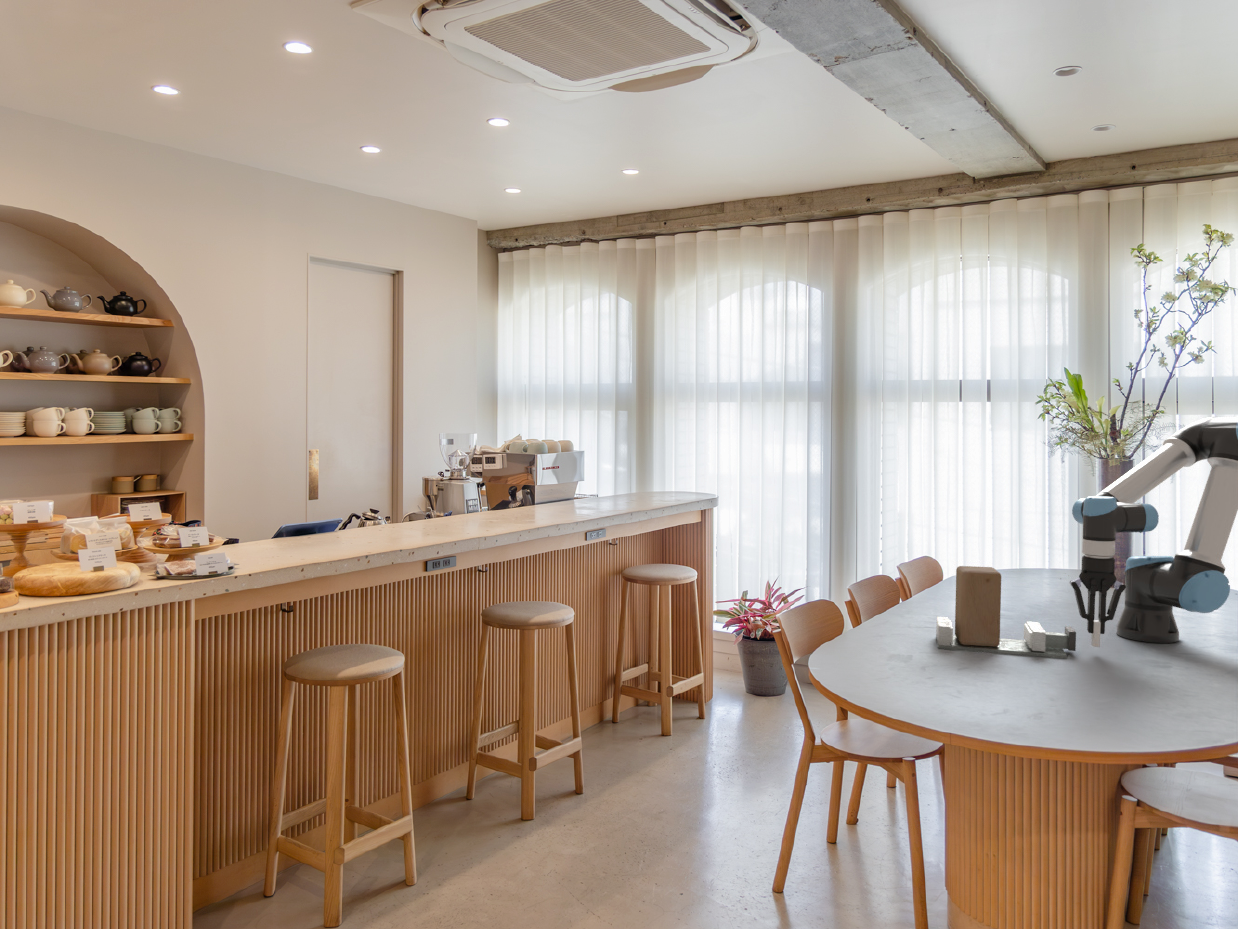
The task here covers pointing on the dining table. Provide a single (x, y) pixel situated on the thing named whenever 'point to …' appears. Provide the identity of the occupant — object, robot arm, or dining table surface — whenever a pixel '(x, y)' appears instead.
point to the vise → (1005, 647)
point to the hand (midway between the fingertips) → (1095, 645)
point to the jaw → (1048, 638)
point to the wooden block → (978, 606)
